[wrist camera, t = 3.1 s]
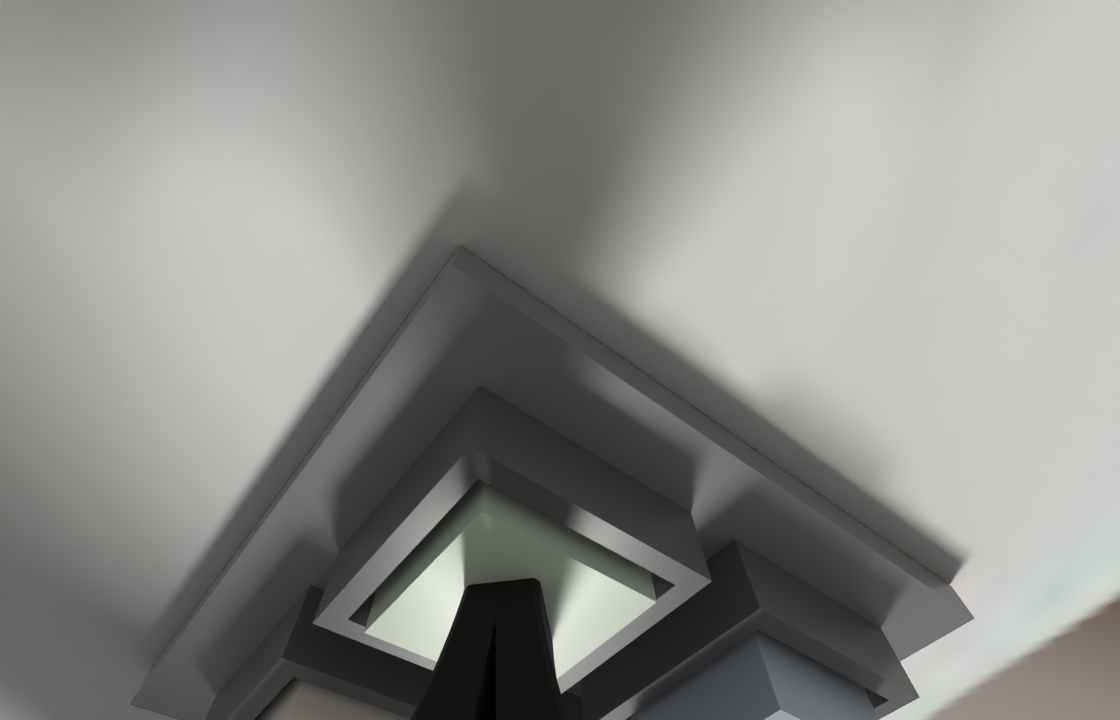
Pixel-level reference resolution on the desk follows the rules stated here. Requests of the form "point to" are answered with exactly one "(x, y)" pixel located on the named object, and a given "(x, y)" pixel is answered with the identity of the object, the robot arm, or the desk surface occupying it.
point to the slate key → (762, 688)
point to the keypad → (560, 493)
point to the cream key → (321, 705)
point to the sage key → (509, 578)
